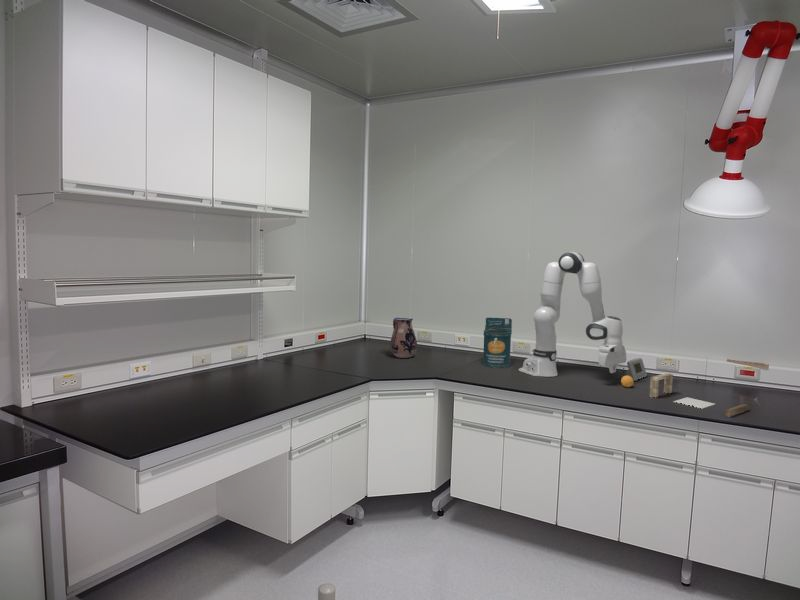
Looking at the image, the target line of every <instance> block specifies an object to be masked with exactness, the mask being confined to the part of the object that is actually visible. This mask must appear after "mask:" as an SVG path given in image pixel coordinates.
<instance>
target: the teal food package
mask: <svg viewBox="0 0 800 600" xmlns="http://www.w3.org/2000/svg"><path fill="white" fill-rule="evenodd" d="M512 328H513V319H511V318H507V317H486V318H485V325H484V329H483V355H482V356H483V358H482V366H483V365H484V366H483V367H487V368H493V367H496V369H505V368H504V367H507V368H511V361H512V360H511V349H512V348H511V347H512V345H511V341H512V333H513V332H512Z"/></svg>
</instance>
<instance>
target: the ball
mask: <svg viewBox="0 0 800 600" xmlns="http://www.w3.org/2000/svg"><path fill="white" fill-rule="evenodd" d="M634 382H635V381H633V378H632V377H630V376H626V375H623V376H622V377H621V380H620V383H621V385H622V386H623V387H625V388H631V387H632V386H633V385H634Z"/></svg>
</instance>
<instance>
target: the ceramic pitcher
mask: <svg viewBox="0 0 800 600" xmlns="http://www.w3.org/2000/svg"><path fill="white" fill-rule="evenodd" d="M413 320H414V319H413V317H409V318H408V317H394V318H393V320H392V327H393V331H392V333H391V334H392V335H391V338H390V343H389V344H390V345H389V346H390V350H391V352H392V354H393V355H394V356H395V357H396V358H400V359H407V358H411V357H413V356H414V355H415V354H416V351H417V350H418V341H417V337H416V334H415V330H414V328H413V324H412V322H413Z"/></svg>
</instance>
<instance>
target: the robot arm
mask: <svg viewBox="0 0 800 600" xmlns="http://www.w3.org/2000/svg"><path fill="white" fill-rule="evenodd" d="M567 273H569V274H574V275H575V274H576V275H577V277H578V284H579V285H578V286H579V291H580V293H581V297H582V298H583V299H585V300H586V301H587V302H588V303H589V305H590V310H591V311H590V312H591V317H592V322H591V323H590V324H588V325H587V326H586V327H585V334H586V336H587V338H589V339H590V340H592V341H599V340H604V343H602V344H601V345H600V346H599V347H598V352H599V353H598V365H599V366H600V367H605V368H606V367H608V369H609V373H610V374H614V373H616V371H617V369H618V368H617V367H618V364H620V365H621V364H625V363H627V350H626V348H625V346H624V345H623V331H624V330H623V328H624V327H623V321H622V319H620V317H617V316H610V315H609V316H605V311H604V310H605V309H604V305H603V296H602V295H603V294H602V291H603V290H602V280H601V276H600V275H601V274H600V271H599V268H598V265H597V264H596V263H594V262H589V261H588V262H585V258H584V256H583V255H582V254H581V253H579V252H576V251H569V252H565V253H563V254H562V255H560V257H559V258H558V261H552V262H549V263H548V264H547V265H546V268H545V270H544V273H543V276H542V283H541V287H540V307H539V308H537V309H536V311H535V312H534V315H533V321H534V327H535V328H534V329H535V348H534V349H532V350H531V352H532V355H531V356H529V357H528V358H526V359H524V361H523V364H522V367H520V368H518V371H519V372H521V373H524V374H527V375H529V376H532V377H547V378H548V377H557V376H558V370H557V369H558V368H557V353H558V352H557V335H556V334H557V333H556V327H555V324H556V322H558V320H559V319H560V316H561V300H562V299H561V298H562V291H563V285H564V278H565V276H566V274H567Z"/></svg>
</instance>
